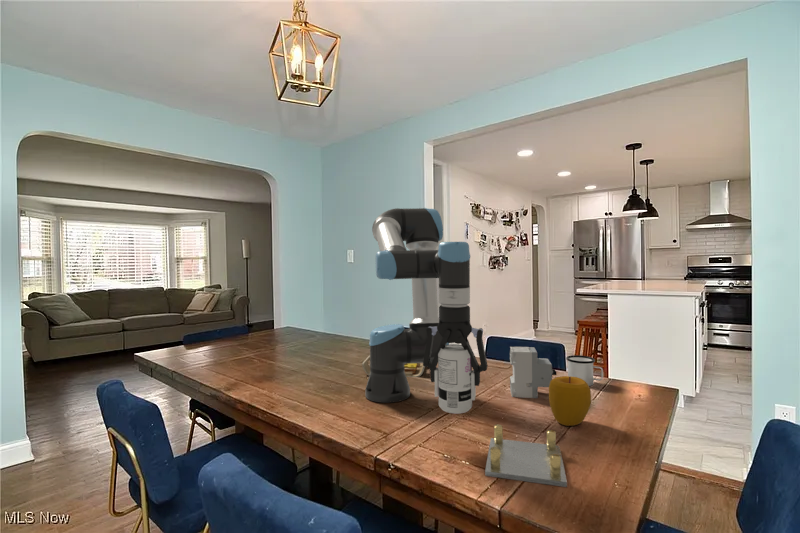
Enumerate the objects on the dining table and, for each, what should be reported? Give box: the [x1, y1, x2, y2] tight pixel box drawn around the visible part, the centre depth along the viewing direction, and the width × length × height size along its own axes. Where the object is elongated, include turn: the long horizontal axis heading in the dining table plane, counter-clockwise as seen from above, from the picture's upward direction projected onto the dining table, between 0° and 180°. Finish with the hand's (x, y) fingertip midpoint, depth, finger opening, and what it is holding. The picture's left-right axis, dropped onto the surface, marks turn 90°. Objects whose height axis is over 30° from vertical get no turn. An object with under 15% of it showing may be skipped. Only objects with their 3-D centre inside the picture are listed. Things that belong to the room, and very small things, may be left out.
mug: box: [565, 354, 604, 387], centre depth 143 cm, size 12×9×9 cm
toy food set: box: [361, 354, 426, 378], centre depth 165 cm, size 25×18×8 cm
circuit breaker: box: [509, 346, 557, 399], centre depth 133 cm, size 8×14×15 cm, turn 78°
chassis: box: [484, 424, 568, 488], centre depth 89 cm, size 16×16×5 cm
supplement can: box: [437, 343, 473, 415], centre depth 98 cm, size 8×8×15 cm
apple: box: [548, 375, 592, 427], centre depth 109 cm, size 11×11×13 cm
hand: (455, 396), depth 98 cm, fingers closed on supplement can, 8 cm apart
